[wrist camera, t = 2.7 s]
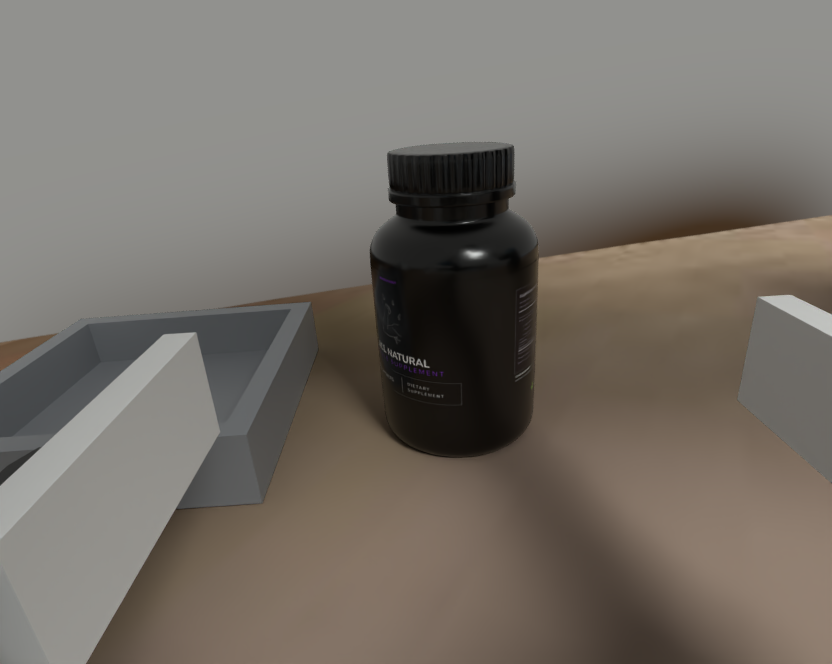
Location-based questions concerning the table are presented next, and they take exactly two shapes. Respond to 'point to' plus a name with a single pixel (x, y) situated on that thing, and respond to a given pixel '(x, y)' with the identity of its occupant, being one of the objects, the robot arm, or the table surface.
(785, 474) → the table surface
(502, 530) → the table surface
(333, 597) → the table surface
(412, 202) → the supplement bottle
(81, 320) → the tray
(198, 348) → the robot arm
